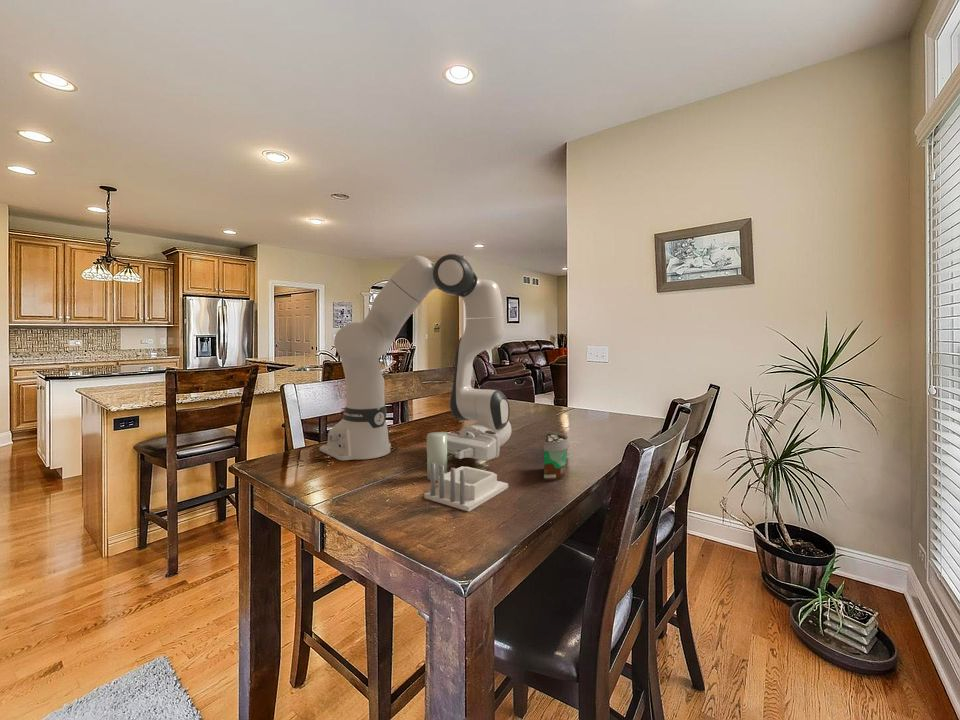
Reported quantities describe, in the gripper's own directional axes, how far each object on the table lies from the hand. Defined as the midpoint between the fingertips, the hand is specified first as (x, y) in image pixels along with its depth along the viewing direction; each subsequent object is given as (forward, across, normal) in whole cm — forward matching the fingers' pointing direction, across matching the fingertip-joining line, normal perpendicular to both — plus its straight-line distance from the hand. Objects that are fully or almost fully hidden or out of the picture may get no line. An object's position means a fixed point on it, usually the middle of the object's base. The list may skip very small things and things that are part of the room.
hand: (442, 452), depth 106 cm
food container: (-17, +24, +6) cm, 30 cm away
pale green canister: (+2, 0, +6) cm, 6 cm away
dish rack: (+6, +12, +6) cm, 15 cm away
